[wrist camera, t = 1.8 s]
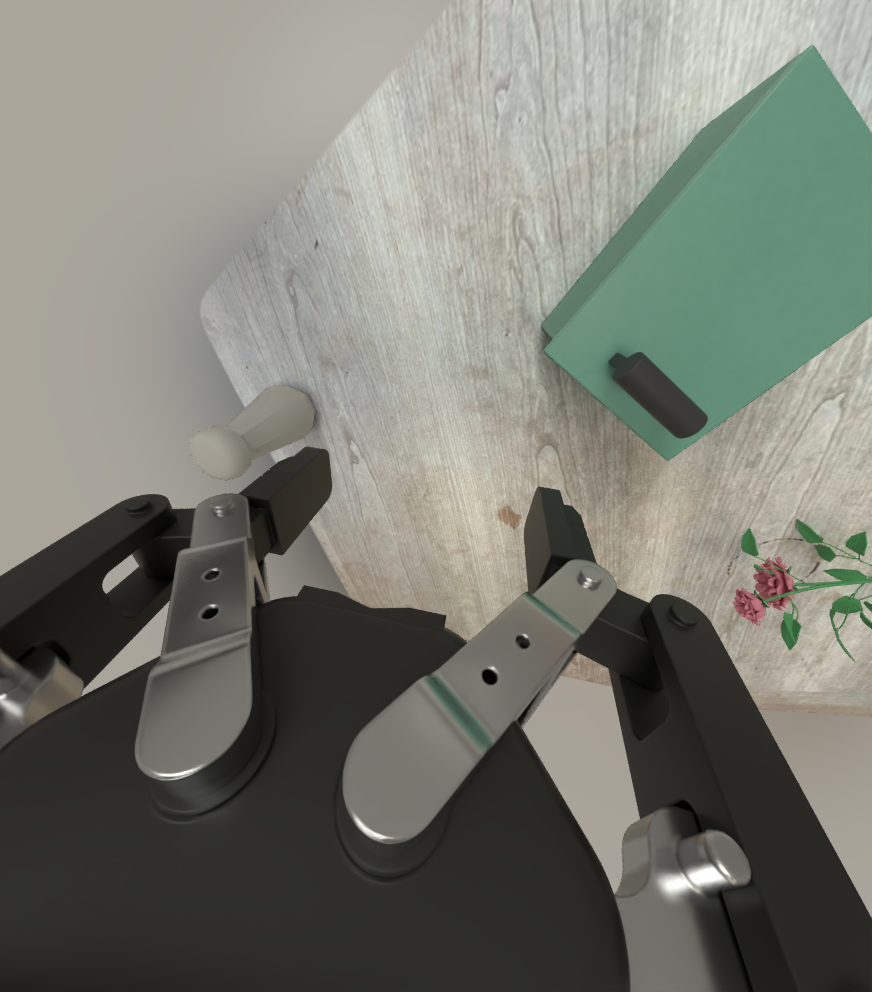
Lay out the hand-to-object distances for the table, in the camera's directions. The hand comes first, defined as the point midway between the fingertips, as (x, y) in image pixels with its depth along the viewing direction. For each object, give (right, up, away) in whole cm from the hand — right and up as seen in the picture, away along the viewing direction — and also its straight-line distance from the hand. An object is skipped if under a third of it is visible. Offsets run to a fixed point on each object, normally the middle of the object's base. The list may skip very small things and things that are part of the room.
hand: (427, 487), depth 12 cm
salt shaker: (-15, +10, +23) cm, 29 cm away
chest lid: (+16, +10, +6) cm, 20 cm away
